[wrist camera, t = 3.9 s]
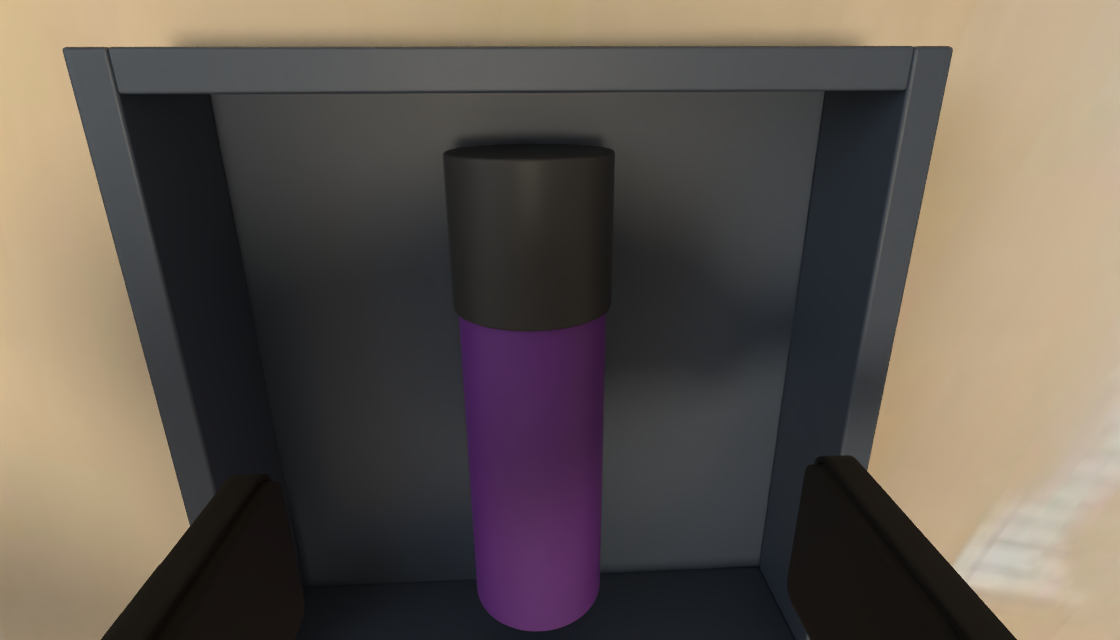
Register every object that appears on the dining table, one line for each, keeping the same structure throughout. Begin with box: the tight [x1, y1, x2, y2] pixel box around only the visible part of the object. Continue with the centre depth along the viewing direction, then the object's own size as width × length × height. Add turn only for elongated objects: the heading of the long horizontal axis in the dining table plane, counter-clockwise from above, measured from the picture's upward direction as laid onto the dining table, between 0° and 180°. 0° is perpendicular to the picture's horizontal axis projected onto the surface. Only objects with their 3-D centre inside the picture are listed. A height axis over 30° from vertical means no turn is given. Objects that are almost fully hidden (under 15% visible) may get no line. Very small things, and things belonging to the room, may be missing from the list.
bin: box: [63, 46, 953, 640], centre depth 16 cm, size 17×17×4 cm
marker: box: [443, 144, 615, 631], centre depth 16 cm, size 4×12×4 cm, turn 0°
